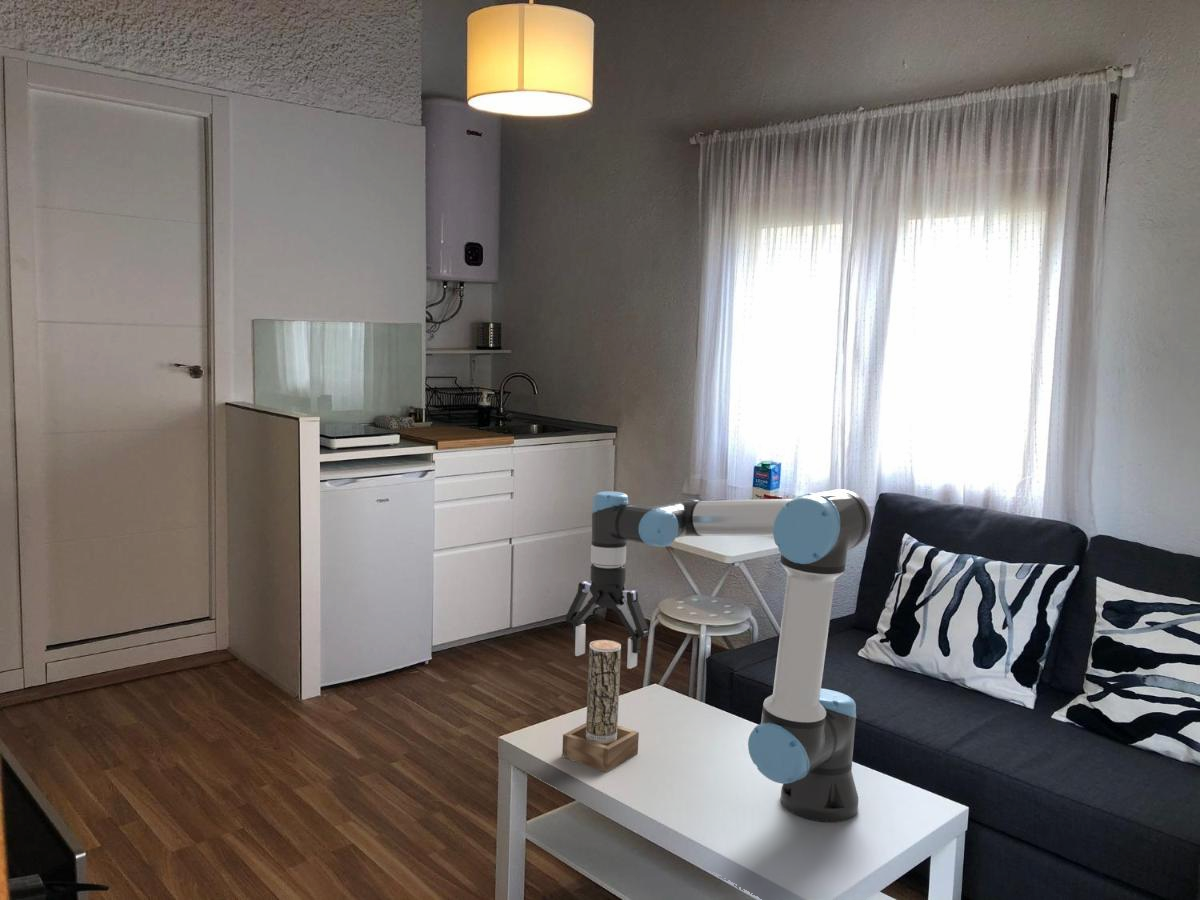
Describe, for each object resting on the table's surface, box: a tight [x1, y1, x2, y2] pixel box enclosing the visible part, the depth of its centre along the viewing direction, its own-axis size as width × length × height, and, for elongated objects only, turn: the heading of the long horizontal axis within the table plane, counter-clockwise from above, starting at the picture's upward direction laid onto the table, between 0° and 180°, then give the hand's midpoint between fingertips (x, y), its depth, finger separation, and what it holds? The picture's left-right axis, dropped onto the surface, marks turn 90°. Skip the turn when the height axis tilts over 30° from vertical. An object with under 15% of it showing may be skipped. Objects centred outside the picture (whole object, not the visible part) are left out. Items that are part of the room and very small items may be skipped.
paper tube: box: [585, 639, 622, 746], centre depth 219 cm, size 7×7×25 cm
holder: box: [561, 722, 640, 773], centre depth 220 cm, size 12×12×5 cm
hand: (605, 660), depth 218 cm, fingers open, 13 cm apart
